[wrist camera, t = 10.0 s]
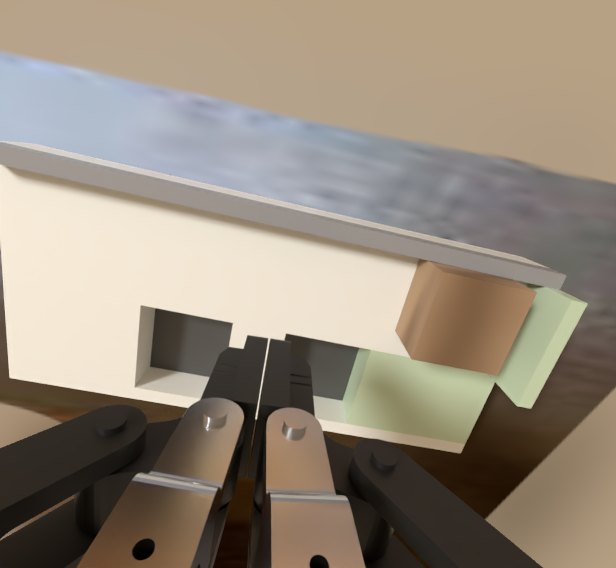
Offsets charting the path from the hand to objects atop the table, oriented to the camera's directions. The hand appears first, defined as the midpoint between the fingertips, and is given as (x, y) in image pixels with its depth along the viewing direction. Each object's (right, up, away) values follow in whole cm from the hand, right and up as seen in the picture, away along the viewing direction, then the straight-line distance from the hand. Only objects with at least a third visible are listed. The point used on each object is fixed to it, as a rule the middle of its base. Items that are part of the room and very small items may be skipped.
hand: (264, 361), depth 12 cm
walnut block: (+9, +2, +7) cm, 12 cm away
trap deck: (-1, +2, +9) cm, 10 cm away
